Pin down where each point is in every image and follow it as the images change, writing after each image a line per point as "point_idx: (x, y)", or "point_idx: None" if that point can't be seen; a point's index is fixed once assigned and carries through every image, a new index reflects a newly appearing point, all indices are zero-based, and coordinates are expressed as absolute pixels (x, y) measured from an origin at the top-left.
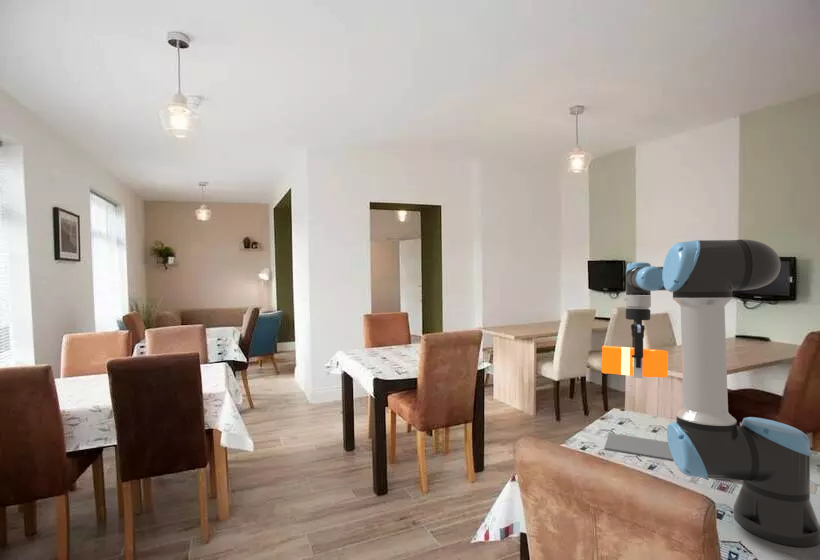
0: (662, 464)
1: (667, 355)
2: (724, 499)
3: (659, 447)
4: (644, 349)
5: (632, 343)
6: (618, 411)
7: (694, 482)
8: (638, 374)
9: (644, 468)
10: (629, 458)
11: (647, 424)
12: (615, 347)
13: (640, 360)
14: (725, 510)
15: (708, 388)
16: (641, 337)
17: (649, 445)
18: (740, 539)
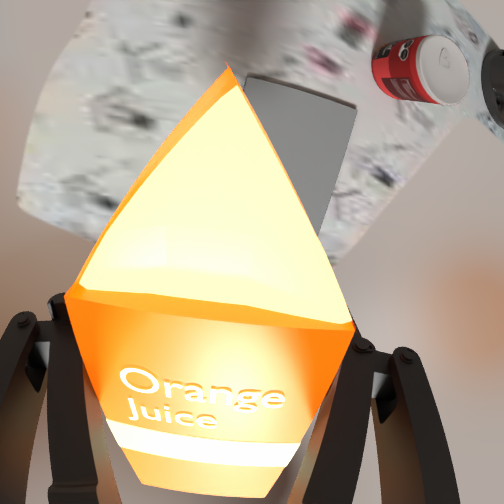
0: (370, 152)
1: (233, 76)
2: (468, 107)
3: (287, 133)
4: (220, 364)
5: (38, 412)
6: (26, 204)
7: (431, 123)
8: None
9: (390, 193)
10: (349, 211)
11: (94, 135)
12: (218, 475)
13: (358, 335)
14: (487, 124)
15: None
16: (448, 494)
17: (278, 155)
18: None
